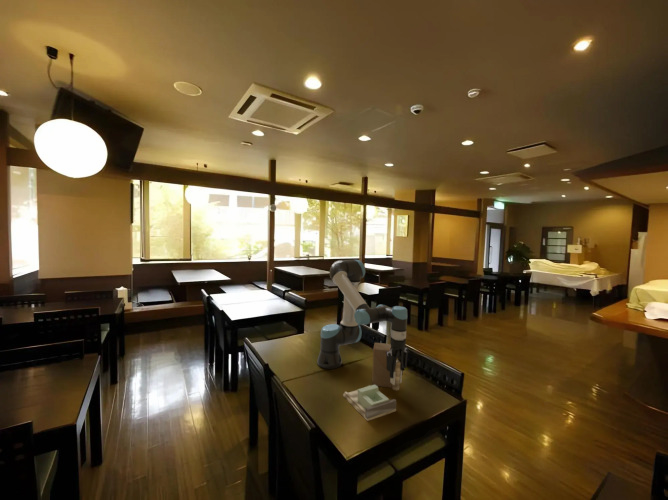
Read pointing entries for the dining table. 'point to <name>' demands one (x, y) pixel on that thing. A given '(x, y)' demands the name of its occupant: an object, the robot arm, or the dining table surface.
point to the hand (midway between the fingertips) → (395, 382)
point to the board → (373, 410)
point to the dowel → (397, 375)
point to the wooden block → (380, 365)
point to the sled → (370, 396)
